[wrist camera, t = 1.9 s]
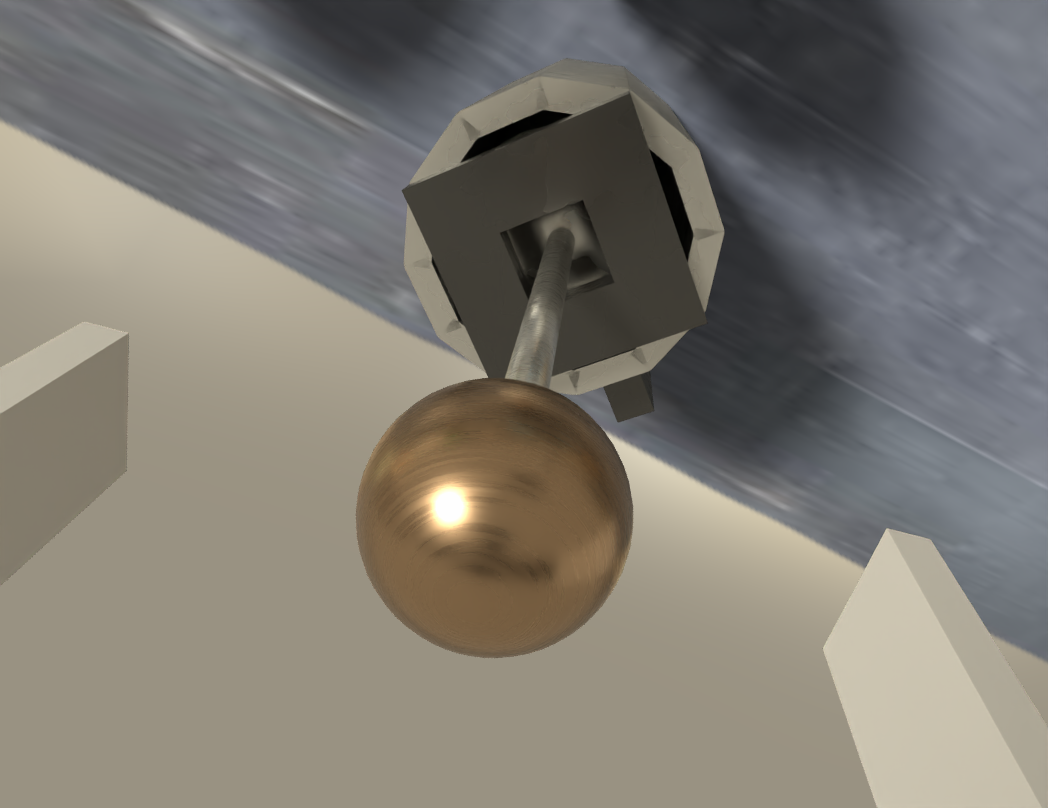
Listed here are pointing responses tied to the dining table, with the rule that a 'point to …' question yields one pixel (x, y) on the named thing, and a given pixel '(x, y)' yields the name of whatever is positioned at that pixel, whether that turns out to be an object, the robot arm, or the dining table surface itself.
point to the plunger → (502, 484)
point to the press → (548, 185)
